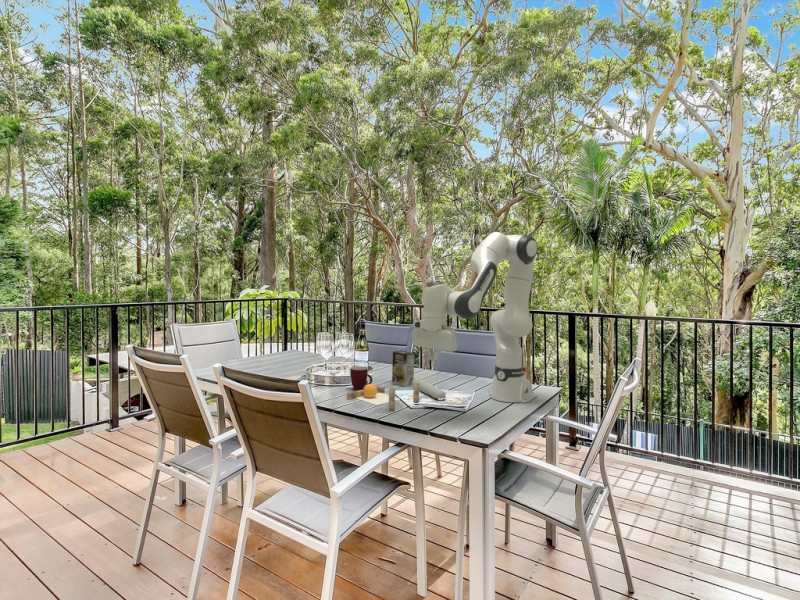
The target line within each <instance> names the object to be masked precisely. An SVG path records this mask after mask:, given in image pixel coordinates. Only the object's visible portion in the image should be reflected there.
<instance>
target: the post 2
mask: <svg viewBox="0 0 800 600" xmlns="http://www.w3.org/2000/svg"><path fill="white" fill-rule="evenodd" d="M412 393H413V394H412V397H413V399H412V403H413V402H414V403H418V402H419V403H420V390H419V382H414V387H413V392H412Z"/></svg>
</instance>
